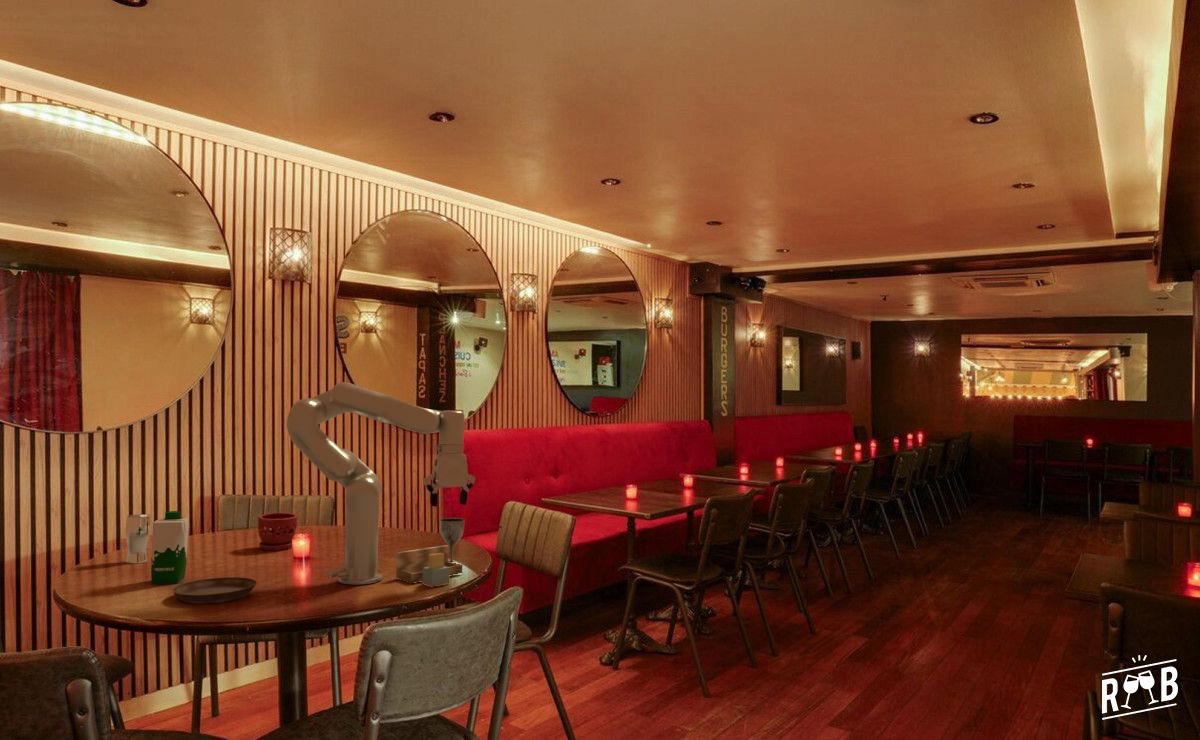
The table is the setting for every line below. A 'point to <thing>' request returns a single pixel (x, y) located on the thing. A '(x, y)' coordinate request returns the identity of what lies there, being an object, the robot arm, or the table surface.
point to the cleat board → (421, 563)
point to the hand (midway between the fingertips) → (448, 505)
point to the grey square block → (436, 571)
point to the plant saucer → (214, 590)
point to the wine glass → (452, 532)
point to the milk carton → (169, 549)
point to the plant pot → (276, 530)
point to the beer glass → (137, 537)
